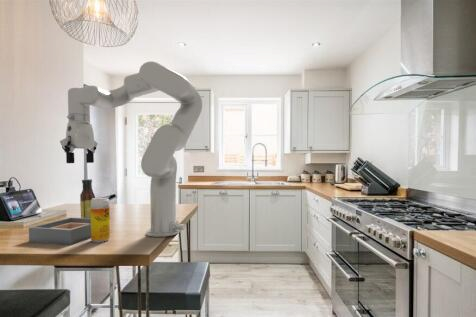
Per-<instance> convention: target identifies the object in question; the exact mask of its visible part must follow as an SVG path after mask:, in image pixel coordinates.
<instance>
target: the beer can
mask: <svg viewBox="0 0 476 317" xmlns="http://www.w3.org/2000/svg"><path fill="white" fill-rule="evenodd" d="M110 205H111V204H110V199H109V197H106V196H105V197H95V198H93V199H92V200H91V238H90V240H91V241H92V242H93V243H104V241H105V242H107V241H109V239H110V238H111V235H110V234H111V221H110V220H111V214H110V213H111V211H110V210H111V209H110V207H111V206H110Z"/></svg>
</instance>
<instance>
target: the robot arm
mask: <svg viewBox="0 0 476 317" xmlns="http://www.w3.org/2000/svg"><path fill="white" fill-rule="evenodd" d="M159 91H160V92H162V93H163V94H166V95H168V96H170V97H171V98H173V99H174V100H175V101H177V102H179V104H180V105H179V108H178V109H177V111H176V112H175V114H174V116H173V118H172V120H171V121H170V123H169V124H168V123H166V124H163V125H161V126H160V127H158V128H157V129H156V131H155V132H154V133H153V135H152V137H151V139H150V142H149V143H148V145H147V147H146V149H145V151H144V154H143V155H142V158H141V160H140V162H141V163H140V166H141V170H142V172H143V174H145V175H146V176H147V177H150V178H151V179H150V188H149V189H150V191H149V192H150V195H149V196H150V197H149V198H150V228H149V229H147V230H146V235H147V236H148V237H153V238H154V237H155V238H162V237H163V238H166V237H171V236H176V235H178V234H180V233H181V231H185V229H186V227H185V226H186V225H185V224H184V223H179V220H177V218H176V217H177V214H176V213H177V210H176V209H177V203H176V202H177V200H176V199H177V198H176V197H177V193H176V192H177V191H176V190H177V189H176V188H177V187H176V186H177V182H176V180H177V172H178V170H177V169H178V163H177V160H176V158H175V156H174V154H175V152H178V151H181V150H183V149H185V148H184V147H185V146H186V144H187V142H188V140H189V139H190V136H191V134H192V132H193V130H194V128H195V126H196V124H197V121H198V119H199V117H200V116H201V113H202V110H203V100H202V97H201V95H200V93H199V91H198V89H197V88H196V87H195V86H194V85H193V83H191V82H190V80H188V79H187V77H186V76H183V75H182V74H180V73H178V72H176V71H175V70H172V69H170V68H168V67H166V66H165V65H162V64H160V63H159V62H156V61H150V60H149V61H147V62H144V63H143V64H141V66H140V67H139V72H137V73H132V74H129V75H127V76H125V77H124V79H123V85H122V86H120V87H117V88H115V89H111V90H106V89H103V88H101V87H98V86H96V85H86V86H84V87H72V88H71V87H70V88H69V89H68V90H67V106H68V107H67V111H68V112H67V113H68V114H67V116H66V118H67V120H68V122H67V123H66V124H67V125H66V132H65V138H63V139H61V140H60V141H59V143H60V146H61V148H62V150H63V151H64V153H65V157H66V161H65V162H66V164H74V163H75V152H74V150H75V149H85V151H86V152H87V153H86V155H85V156H86V159H85V160H86V164H90V163H92V164H93V163H94V162H95V158H94V157H95V156H94V154H95V152H96V150H97V146H98V145H99V144H98V142H97V141H96V140H95V134H94V129H93V125H92V123H91V111H90V110H91V108H90V106H92V107H96V108H100V109H103V110H111V109H115V108H118V107H122V106H124V105H127V104H128V103H130V102H131V101H133V100H134V99H135V98H138V97H142V96H145V95H149V94H153V93H156V92H159Z"/></svg>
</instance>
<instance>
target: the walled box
mask: <svg viewBox="0 0 476 317" xmlns="http://www.w3.org/2000/svg"><path fill="white" fill-rule="evenodd" d="M89 239H91V218H81V217H66V218H63V219H58V220H54V221H50V222H46V223H43V224H37V225H34V226H29V227H28V242H29V243H38V244H39V243H41V244H42V243H43V244H54V245H66V246H67V245H68V246H72V245H74V244H78V243H80V242H83V241H87V240H89Z"/></svg>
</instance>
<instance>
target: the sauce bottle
mask: <svg viewBox="0 0 476 317" xmlns="http://www.w3.org/2000/svg"><path fill="white" fill-rule="evenodd" d="M92 183H93V179H91V178H89V179H86V178H85V179H81V184H82V191H81V193H80V195H79V196H80V199H79V202H80V203H79V205H80V218H91V200H92V199H93V198H96V195H95V192H94V190H93V184H92Z"/></svg>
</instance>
